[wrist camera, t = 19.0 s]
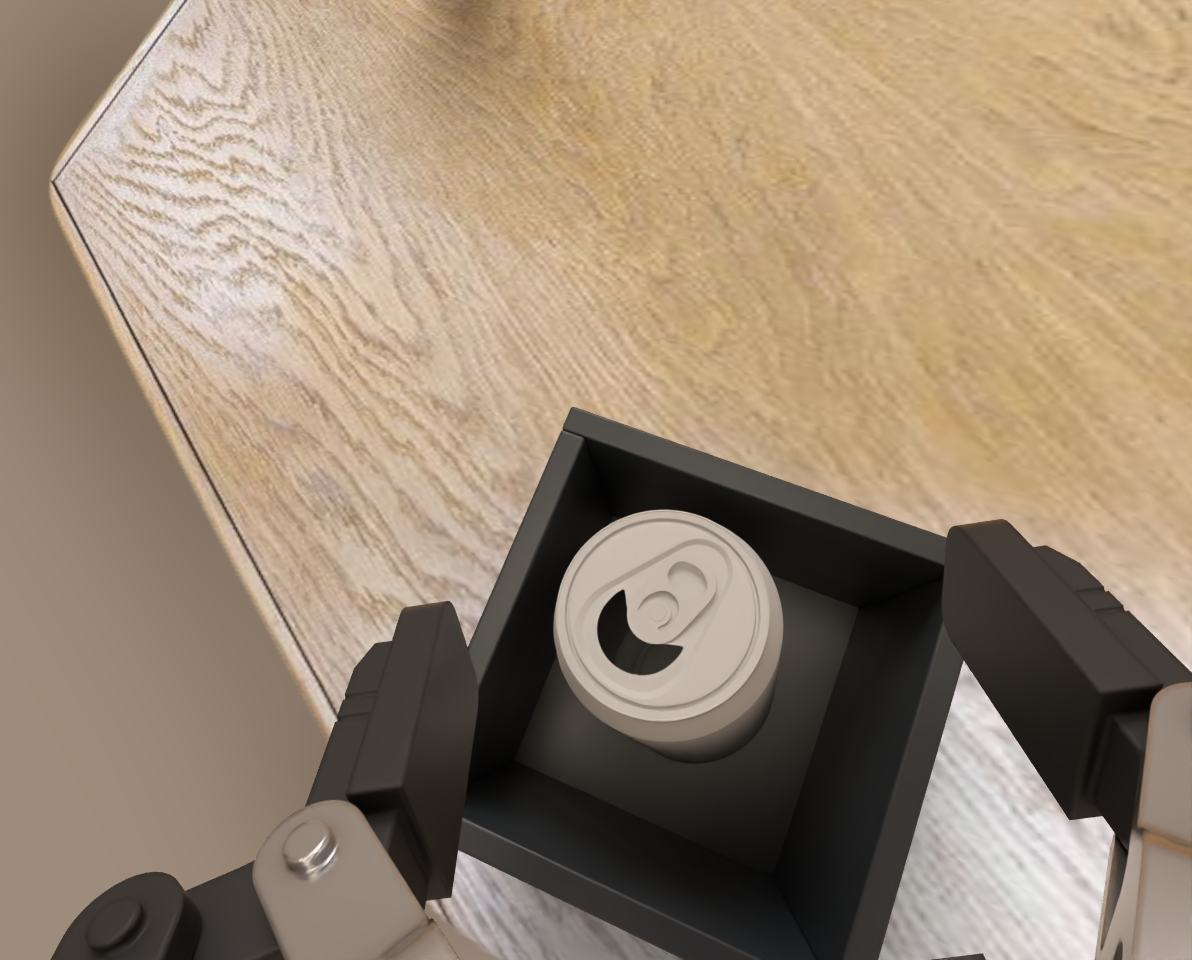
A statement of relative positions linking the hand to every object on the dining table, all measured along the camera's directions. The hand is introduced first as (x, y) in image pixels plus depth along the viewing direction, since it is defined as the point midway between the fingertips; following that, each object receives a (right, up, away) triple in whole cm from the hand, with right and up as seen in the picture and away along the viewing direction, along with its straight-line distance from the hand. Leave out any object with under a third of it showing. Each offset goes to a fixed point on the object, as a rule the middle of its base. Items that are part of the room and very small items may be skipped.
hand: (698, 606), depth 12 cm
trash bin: (+2, -7, +20) cm, 21 cm away
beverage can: (+2, -6, +18) cm, 19 cm away
